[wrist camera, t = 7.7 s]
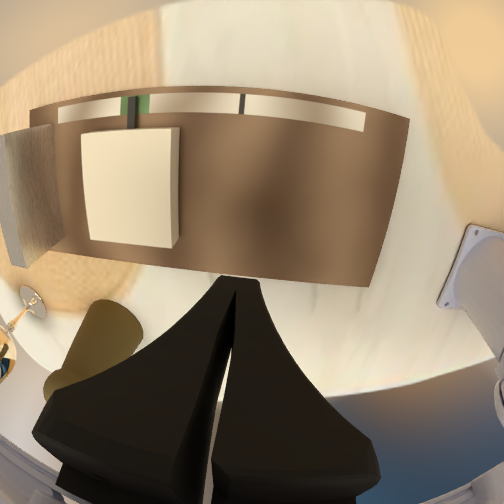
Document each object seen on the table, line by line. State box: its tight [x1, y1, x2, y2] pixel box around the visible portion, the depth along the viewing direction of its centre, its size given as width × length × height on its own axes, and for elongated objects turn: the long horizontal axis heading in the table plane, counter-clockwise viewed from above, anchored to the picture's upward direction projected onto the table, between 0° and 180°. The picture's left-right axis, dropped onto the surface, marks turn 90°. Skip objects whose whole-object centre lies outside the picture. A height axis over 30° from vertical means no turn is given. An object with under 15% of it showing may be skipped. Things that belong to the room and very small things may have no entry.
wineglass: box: [0, 286, 46, 383], centre depth 18 cm, size 6×6×12 cm
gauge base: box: [30, 86, 410, 287], centre depth 17 cm, size 26×12×1 cm, turn 85°
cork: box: [43, 300, 143, 402], centre depth 19 cm, size 6×6×11 cm
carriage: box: [81, 96, 180, 249], centre depth 15 cm, size 6×9×2 cm, turn 175°
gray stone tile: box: [0, 123, 65, 268], centre depth 14 cm, size 2×9×5 cm, turn 175°
